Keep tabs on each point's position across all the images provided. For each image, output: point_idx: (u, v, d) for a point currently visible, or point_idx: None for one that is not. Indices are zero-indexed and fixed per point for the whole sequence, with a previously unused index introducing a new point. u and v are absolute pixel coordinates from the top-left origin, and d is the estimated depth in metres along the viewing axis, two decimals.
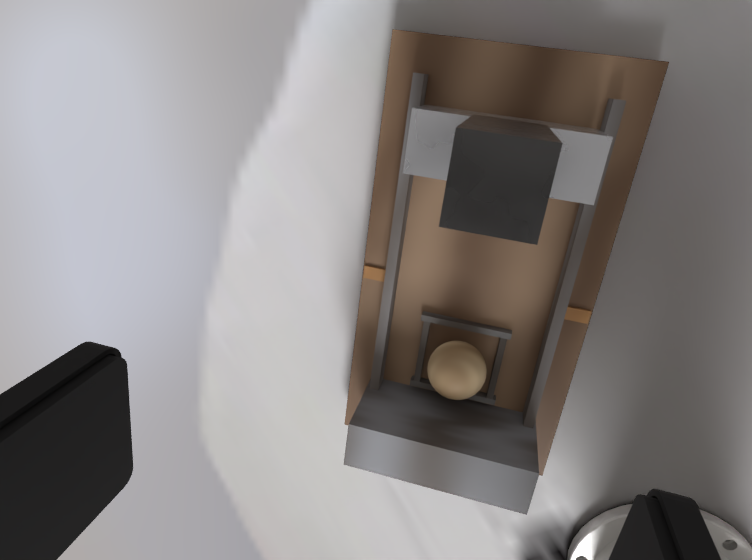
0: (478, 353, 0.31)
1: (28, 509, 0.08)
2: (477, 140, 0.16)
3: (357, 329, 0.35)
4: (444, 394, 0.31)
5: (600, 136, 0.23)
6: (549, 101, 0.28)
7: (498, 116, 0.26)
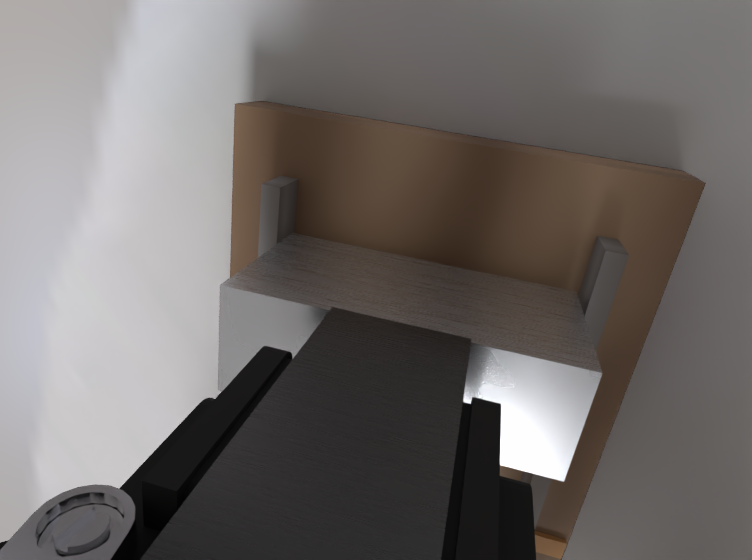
0: None
1: None
2: None
3: None
4: None
5: (577, 369, 0.11)
6: (497, 234, 0.16)
7: (401, 274, 0.15)
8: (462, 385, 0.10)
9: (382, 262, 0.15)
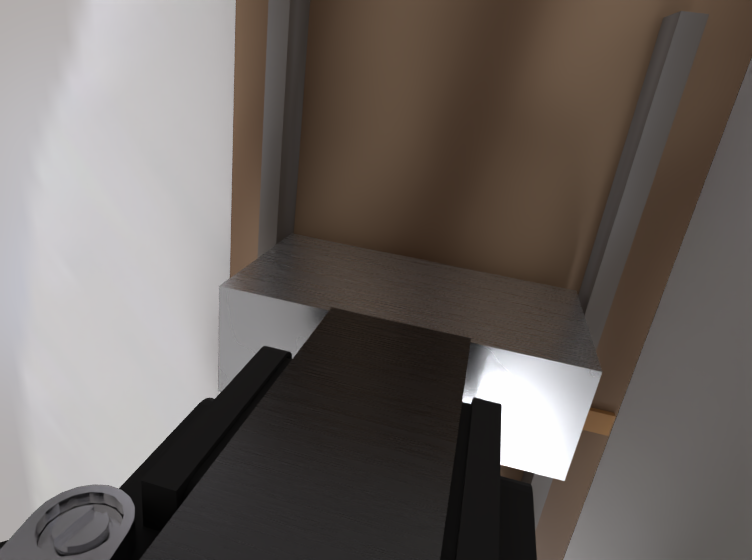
0: None
1: None
2: None
3: None
4: None
5: (577, 368, 0.11)
6: (543, 26, 0.14)
7: (401, 274, 0.15)
8: (461, 384, 0.10)
9: (381, 262, 0.15)
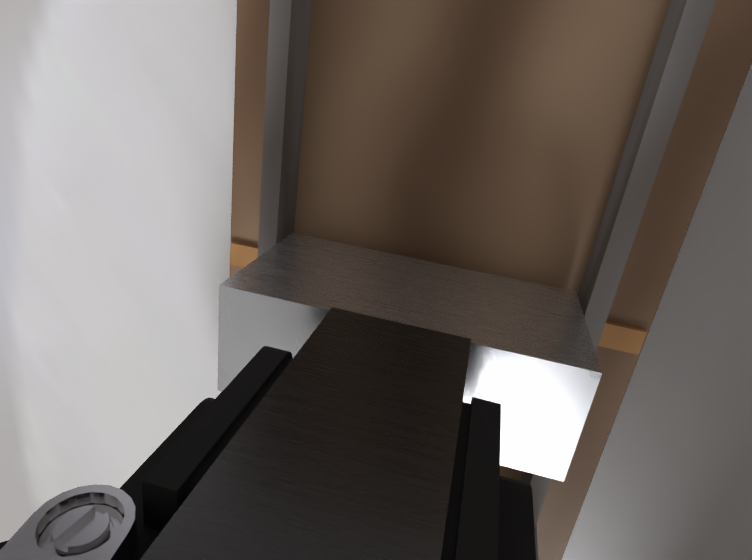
0: None
1: None
2: None
3: None
4: None
5: (577, 369, 0.11)
6: None
7: (401, 274, 0.15)
8: (462, 385, 0.10)
9: (382, 262, 0.15)
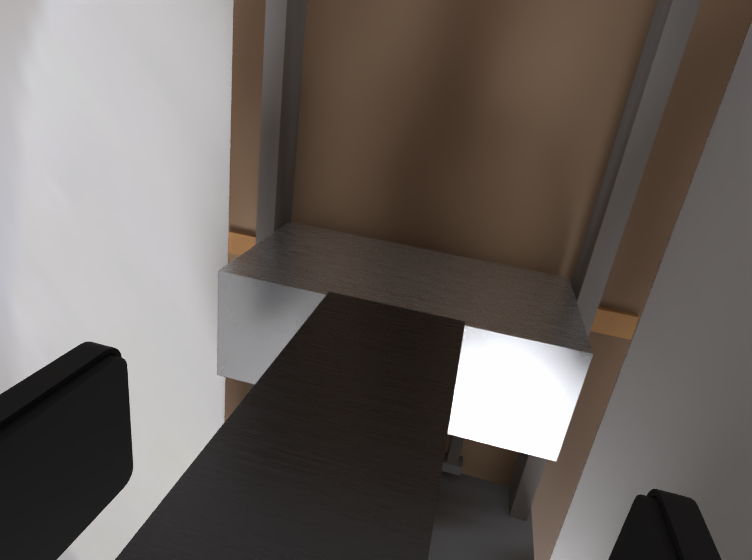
0: None
1: (28, 509, 0.08)
2: None
3: None
4: None
5: (568, 351, 0.11)
6: None
7: (397, 260, 0.15)
8: (456, 364, 0.10)
9: (378, 249, 0.16)
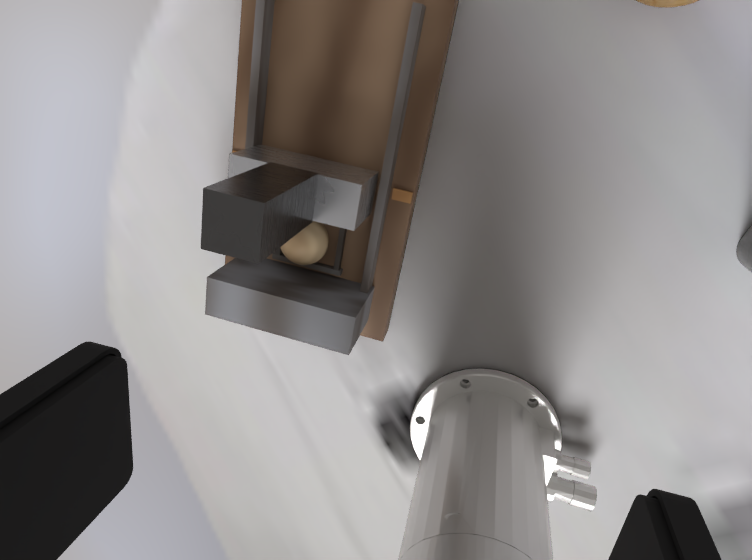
0: (320, 225, 0.38)
1: (28, 509, 0.08)
2: (216, 197, 0.26)
3: None
4: (290, 257, 0.38)
5: (353, 184, 0.32)
6: (371, 6, 0.33)
7: (303, 159, 0.35)
8: (307, 178, 0.31)
9: (297, 155, 0.36)
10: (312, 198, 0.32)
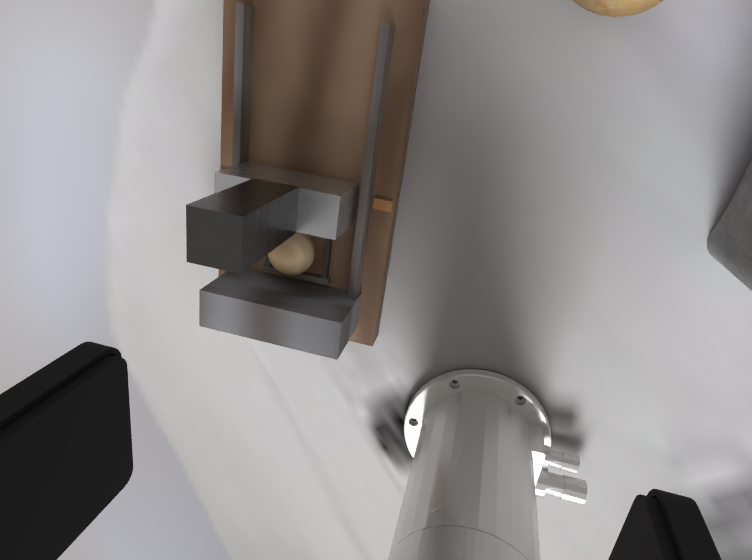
0: (305, 236, 0.39)
1: (28, 509, 0.08)
2: (198, 212, 0.27)
3: None
4: (278, 268, 0.39)
5: (332, 195, 0.34)
6: (344, 27, 0.35)
7: (286, 174, 0.37)
8: (287, 192, 0.32)
9: (280, 171, 0.38)
10: (294, 210, 0.34)
